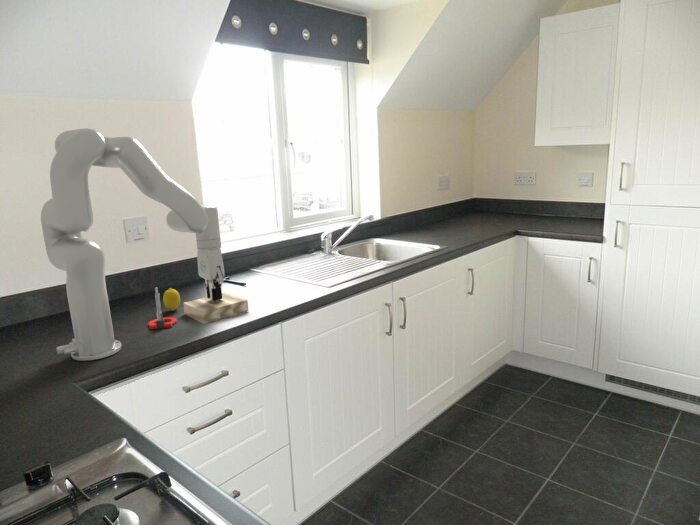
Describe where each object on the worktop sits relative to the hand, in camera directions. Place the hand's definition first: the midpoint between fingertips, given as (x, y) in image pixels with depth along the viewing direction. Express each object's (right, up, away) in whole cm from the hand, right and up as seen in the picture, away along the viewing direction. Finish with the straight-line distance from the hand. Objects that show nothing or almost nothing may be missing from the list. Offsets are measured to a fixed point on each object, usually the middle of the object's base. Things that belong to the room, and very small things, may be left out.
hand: (214, 298), depth 171 cm
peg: (0, -4, +1) cm, 4 cm away
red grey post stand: (-15, -8, -7) cm, 18 cm away
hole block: (0, -5, +1) cm, 5 cm away
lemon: (-16, -5, +6) cm, 17 cm away
